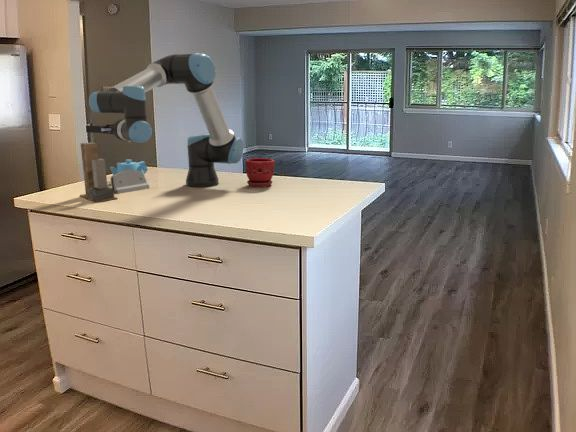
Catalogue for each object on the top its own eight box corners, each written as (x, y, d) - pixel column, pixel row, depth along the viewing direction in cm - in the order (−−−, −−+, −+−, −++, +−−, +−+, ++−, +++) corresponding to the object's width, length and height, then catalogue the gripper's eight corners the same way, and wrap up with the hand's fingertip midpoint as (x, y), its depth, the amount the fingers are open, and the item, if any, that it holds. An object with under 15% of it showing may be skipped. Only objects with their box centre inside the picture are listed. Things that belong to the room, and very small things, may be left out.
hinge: (117, 193, 248) (111, 171, 248) (112, 196, 251) (106, 174, 251) (150, 188, 260) (144, 166, 260) (145, 190, 263) (139, 169, 263)
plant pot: (269, 188, 254) (268, 161, 251) (241, 187, 258) (240, 161, 255) (278, 183, 266) (278, 157, 263) (252, 182, 270) (251, 157, 267)
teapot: (143, 184, 271) (141, 161, 268) (111, 184, 270) (109, 162, 267) (148, 178, 285) (147, 157, 283) (118, 179, 284) (116, 157, 282)
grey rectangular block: (108, 197, 237) (104, 159, 233) (99, 199, 235) (95, 160, 231) (104, 196, 240) (101, 158, 236) (95, 197, 238) (91, 159, 234)
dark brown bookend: (117, 199, 237) (112, 144, 232) (95, 202, 231) (89, 146, 226) (101, 193, 250) (96, 141, 244) (79, 196, 244) (74, 143, 238)
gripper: (92, 141, 201) (73, 137, 218) (158, 139, 216) (136, 136, 233) (91, 120, 200) (72, 118, 216) (157, 119, 215) (135, 117, 231)
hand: (105, 127), depth 224 cm, fingers open, 13 cm apart
